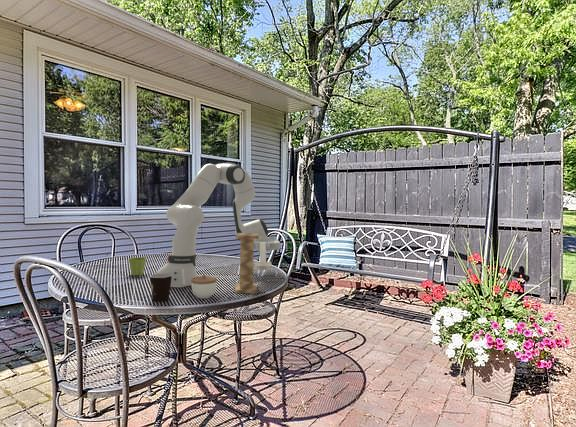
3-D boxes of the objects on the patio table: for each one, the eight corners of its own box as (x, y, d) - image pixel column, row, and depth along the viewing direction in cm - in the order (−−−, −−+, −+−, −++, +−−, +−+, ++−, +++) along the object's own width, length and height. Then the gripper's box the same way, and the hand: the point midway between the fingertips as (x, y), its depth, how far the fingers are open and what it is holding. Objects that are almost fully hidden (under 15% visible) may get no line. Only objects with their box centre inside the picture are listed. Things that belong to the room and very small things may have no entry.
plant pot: (123, 275, 194) (124, 259, 193) (136, 272, 203) (136, 256, 202) (138, 277, 191) (138, 260, 191) (150, 273, 200) (150, 258, 200)
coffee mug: (169, 302, 146) (170, 277, 146) (147, 302, 145) (147, 277, 145) (174, 294, 158) (174, 271, 158) (153, 295, 157) (153, 272, 156)
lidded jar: (201, 292, 163) (202, 271, 163) (221, 295, 159) (221, 274, 158) (185, 297, 154) (185, 275, 153) (206, 301, 149) (206, 278, 149)
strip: (255, 269, 181) (255, 265, 180) (255, 245, 198) (255, 241, 197) (271, 269, 182) (271, 265, 181) (269, 245, 199) (269, 241, 197)
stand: (234, 293, 163) (236, 235, 162) (235, 286, 175) (237, 232, 175) (257, 293, 164) (258, 235, 163) (256, 286, 176) (257, 233, 176)
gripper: (243, 238, 207) (243, 241, 193) (279, 238, 209) (281, 241, 195) (243, 249, 207) (242, 252, 193) (279, 249, 209) (281, 253, 195)
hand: (262, 247), depth 194 cm, fingers closed on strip, 3 cm apart
